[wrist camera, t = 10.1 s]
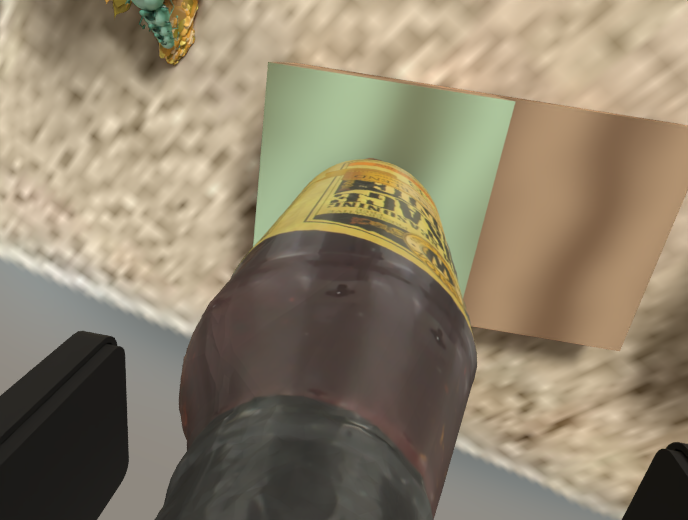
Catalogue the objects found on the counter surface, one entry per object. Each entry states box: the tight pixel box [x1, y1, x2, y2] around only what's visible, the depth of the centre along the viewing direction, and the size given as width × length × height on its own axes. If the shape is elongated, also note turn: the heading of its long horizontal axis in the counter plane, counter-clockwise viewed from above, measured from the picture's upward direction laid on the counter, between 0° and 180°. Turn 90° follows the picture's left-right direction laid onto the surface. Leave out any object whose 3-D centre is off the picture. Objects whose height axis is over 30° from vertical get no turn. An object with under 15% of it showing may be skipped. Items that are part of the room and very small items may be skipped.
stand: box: [253, 62, 688, 351], centre depth 25 cm, size 20×12×6 cm, turn 82°
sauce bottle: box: [155, 158, 477, 520], centre depth 13 cm, size 7×6×20 cm
